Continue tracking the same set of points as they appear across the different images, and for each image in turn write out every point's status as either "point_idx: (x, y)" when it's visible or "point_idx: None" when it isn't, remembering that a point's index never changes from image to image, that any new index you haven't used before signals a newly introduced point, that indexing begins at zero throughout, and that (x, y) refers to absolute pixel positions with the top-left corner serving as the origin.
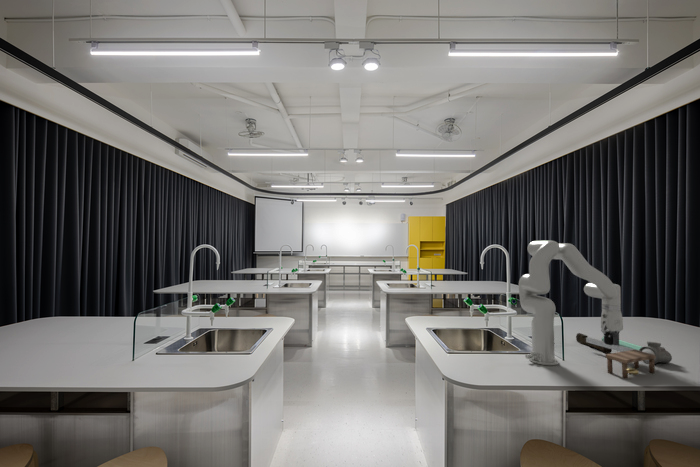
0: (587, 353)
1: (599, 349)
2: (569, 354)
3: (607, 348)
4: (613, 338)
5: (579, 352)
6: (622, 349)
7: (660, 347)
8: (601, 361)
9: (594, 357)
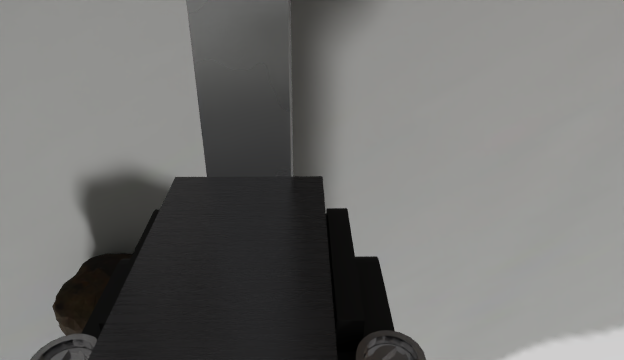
0: None
1: None
2: (562, 325)
3: None
4: (330, 282)
5: None
6: (290, 30)
7: None
8: (532, 96)
9: (443, 208)
